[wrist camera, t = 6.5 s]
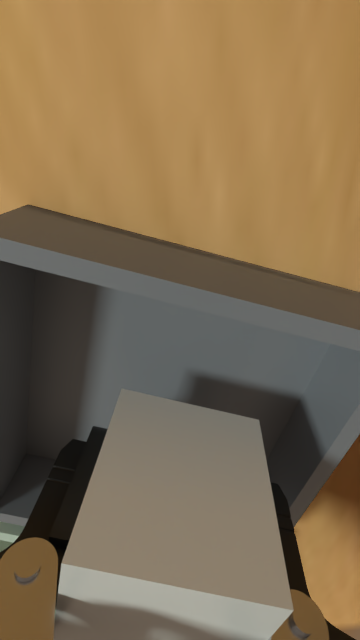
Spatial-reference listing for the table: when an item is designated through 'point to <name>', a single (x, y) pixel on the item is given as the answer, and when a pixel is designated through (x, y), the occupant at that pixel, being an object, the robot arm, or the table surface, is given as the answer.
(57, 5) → the table surface
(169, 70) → the table surface
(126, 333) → the bin
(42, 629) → the robot arm
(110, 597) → the light grey block
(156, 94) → the table surface
